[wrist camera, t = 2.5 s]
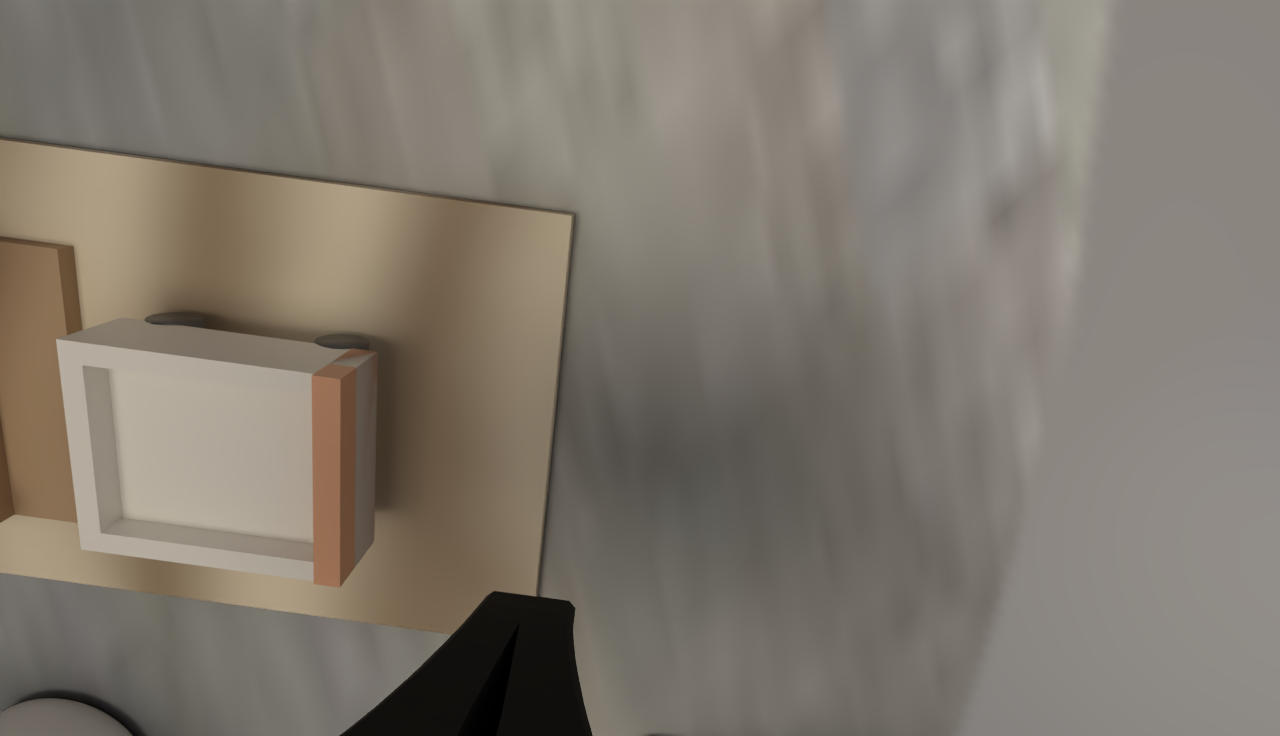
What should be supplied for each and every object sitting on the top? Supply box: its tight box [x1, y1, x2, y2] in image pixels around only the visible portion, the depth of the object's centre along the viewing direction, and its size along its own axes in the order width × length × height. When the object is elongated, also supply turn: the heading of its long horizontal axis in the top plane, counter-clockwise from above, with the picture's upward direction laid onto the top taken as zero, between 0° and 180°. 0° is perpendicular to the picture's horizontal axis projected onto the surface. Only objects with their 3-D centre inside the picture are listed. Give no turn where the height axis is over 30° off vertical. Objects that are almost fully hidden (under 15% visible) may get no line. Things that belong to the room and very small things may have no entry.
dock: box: [0, 137, 575, 634], centre depth 18 cm, size 19×12×4 cm, turn 83°
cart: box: [56, 312, 378, 588], centre depth 18 cm, size 6×5×3 cm
